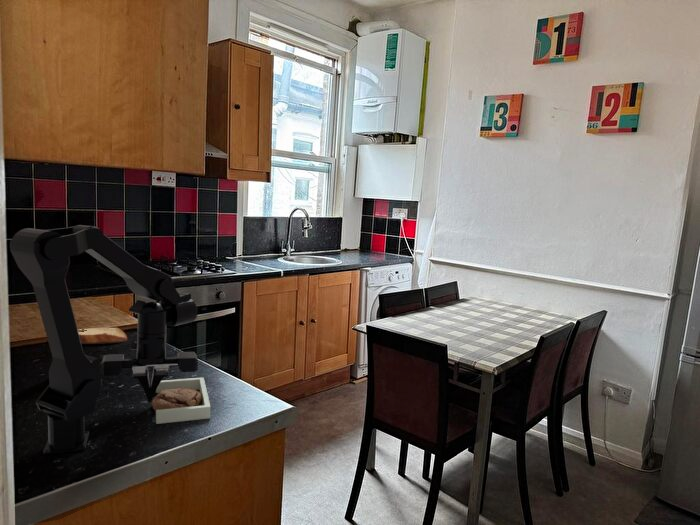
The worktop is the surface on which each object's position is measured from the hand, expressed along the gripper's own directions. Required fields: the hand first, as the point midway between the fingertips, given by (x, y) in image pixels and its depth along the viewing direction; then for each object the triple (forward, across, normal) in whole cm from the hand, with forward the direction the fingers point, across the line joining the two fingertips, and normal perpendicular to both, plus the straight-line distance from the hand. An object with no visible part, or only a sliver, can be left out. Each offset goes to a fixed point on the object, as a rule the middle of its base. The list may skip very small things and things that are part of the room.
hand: (149, 401), depth 107 cm
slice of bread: (+2, +18, -54) cm, 57 cm away
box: (+1, -6, 0) cm, 6 cm away
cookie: (+1, -6, 0) cm, 6 cm away
